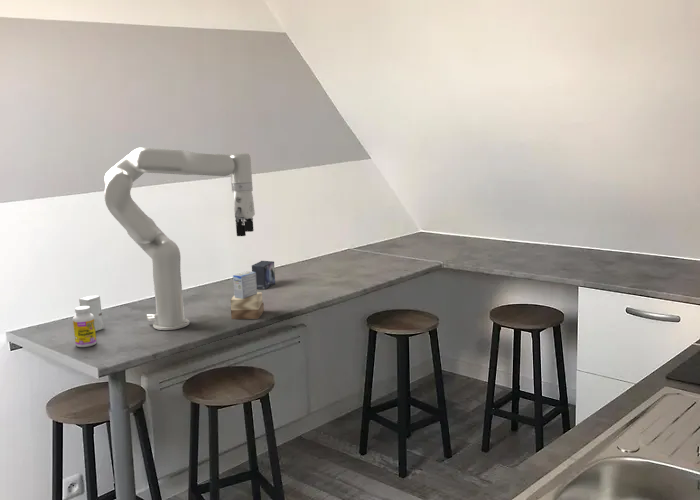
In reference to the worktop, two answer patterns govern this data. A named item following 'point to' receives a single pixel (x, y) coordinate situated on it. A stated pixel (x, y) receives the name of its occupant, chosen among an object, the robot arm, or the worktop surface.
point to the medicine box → (245, 284)
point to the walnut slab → (247, 313)
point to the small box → (264, 274)
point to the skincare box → (94, 309)
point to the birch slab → (247, 302)
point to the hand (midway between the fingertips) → (245, 233)
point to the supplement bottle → (84, 327)
